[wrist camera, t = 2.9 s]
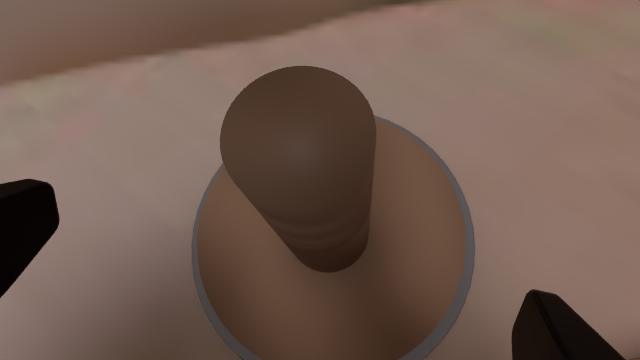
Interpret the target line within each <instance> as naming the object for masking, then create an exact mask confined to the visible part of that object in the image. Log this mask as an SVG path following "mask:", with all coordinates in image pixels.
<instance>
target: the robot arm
mask: <svg viewBox="0 0 640 360" xmlns="http://www.w3.org/2000/svg"><path fill="white" fill-rule="evenodd" d="M58 225H59V213H58V208H57V203H56V198H55V193H54V189H53V187H52V186H51V185H50V184H49V183H47V182H43V181H39V180H34V179H24V180H19V181H14V182H8V183H3V184H0V298H1V297H2V296H3V295H4V293H5V292H6V291H7V290H8V289H9V288H10V287H11V285H12V284H13V283H14V282H15V281H16V279H17V278H18V277H19V276H20V275H21V273H22V272H23V271H24V270H25V268H26V267H27V266H28V265H29V263H30V262H31V261H32V260H33V258H34V257H35V256H36V255H37V254H38V252H39V251H40V250H41V249H42V247H43V246H44V245H45V244H46V242H47V241H48V240H49V239H50V238H51V236H52V235H53V234H54V233H55V231H56V230H57V228H58ZM512 359H513V360H625V359H624V358H623V357H622V356H621V355H620V354H619V353H618V352H617V351H616V350H615V349H614V348H613V347H612V346H611V345H610V344H609V343H608V342H606V341H605V340H604V339H603V338H602V337H601V336H600V335H599V334H598V333H597V332H596V331H595V330H594V329H593V328H592V327H591V326H590V325H589V324H588V323H587V322H585V321H584V320H583V319H582V318H581V317H580V316H579V315H578V314H577V313H576V312H575V311H574V310H573V309H572V308H571V307H570V306H569V305H568V304H567V303H566V302H564V301H563V300H562V299H561V298H560V297H559V296H558V295H556V294H553V293H549V292H544V291H539V290H535V289H533V290H530V291H529V292H528V293H527V294H526V296H525V299H524V301H523V304H522V306H521V308H520V311H519V313H518V316H517V318H516V321H515V323H514V326H513V330H512Z"/></svg>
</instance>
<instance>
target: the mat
mask: <svg viewBox="0 0 640 360" xmlns="http://www.w3.org/2000/svg"><path fill="white" fill-rule="evenodd" d="M374 118H375V119H378V120H381V121H383V122H386V123H388V124H390V125H392V126H394V127H396V128H398V129H400V130H402V131H403V132H405V133H406V134H408V135H409V136H411V137H412V138H414V139H415V140H416V141H417V142H418V143H420V144H421V145H422V146H423V147H424V148H425V149H426V150H427V151H428V152H429V153H430V154H431V155H432V156H433V157H434V158H435V159H436V161H437V162H438V163H439V165H440V166H441V167H442V169H443V170H444V172H445V173H446V175H447V176H448V178H449V180H450V182H451V184H452V186H453V188H454V190H455V192H456V195H457V198H458V200H459V203H460V206H461V210H462V215H463V219H464V224H465V236H466V250H465V262H464V267H463V272H462V277H461V280H460V283H459V286H458V289H457V292H456V295H455V297H454V299H453V301H452V303H451V305H450V307H449V309H448V311H447V312H446V314H445V315H444V317H443V318H442V320H441V321H440V322H439V324H438V325H437V327H436V328H435V329H434V330H433V331H432V332H431V333H430V334H429V335H428V337H427V338H426V339H425V340H424V341H423V342H422V343H420V344H419V345H418V346H417V347H415V348H414V349H413V350H412V351H410V352H409V353H408V354H406V355H405V356H403V357H401V358H399V359H398V360H422V359H423V358H424V357H425V356H426V355H428V354H429V353H430V352H431V351H432V350H433V349H434V348H435V347H436V346H437V345H438V343H439V342H440V341H441V340H442V339H443V338H444V337H445V335H446V334H447V332H448V331H449V329H450V328H451V327H452V325H453V324H454V322H455V321H456V319H457V317H458V315H459V313H460V311H461V309H462V307H463V305H464V302H465V299H466V296H467V293H468V290H469V288H470V284H471V279H472V274H473V268H474V256H475V242H474V230H473V224H472V220H471V215H470V211H469V208H468V205H467V202H466V200H465V197H464V194H463V192H462V190H461V188H460V186H459V184H458V182H457V181H456V179H455V177H454V175H453V174H452V172H451V171H450V170H449V168H448V167H447V165H446V164H445V163H444V161H443V160H442V159H441V158H440V157H439V156H438V155H437V154H436V153H435V151H434V150H433V149H432V148H430V147H429V146H428V145H427V144H426V143H425V142H423V141H422V140H421V139H420V138H419V137H417V136H415V135H414V134H412V133H411V132H409V131H408V130H406V129H405V128H403V127H401V126H399V125H397V124H395V123H393V122H391V121H388V120H386V119H383V118H380V117H377V116H374ZM223 167H224V163H223V164H222V165H221V167H220V168H219V169H218V171H217V172H216V174H215V175H214V177H213V178H212V180H211V182H210V184H209V185H208V187H207V189H206V191H205V193H204V195H203V198H202V201H201V203H200V206H199V208H198V212H197V216H196V220H195V224H194V230H193V238H192V266H193V273H194V280H195V284H196V287H197V291H198V294H199V298H200V300H201V303H202V305H203V307H204V310H205V312H206V314H207V316H208V318H209V320H210V321H211V323H212V324H213V326H214V328H215V329H216V331H217V333H218V334H219V335H220V336H221V337H222V339H223V340H224V341H225V342H226V344H227V345H228V346H229V347H230V348H231V349H232V350H233V351H234V352H235V353H236V354H237V355H238V356H240V357H241V358H242V359H243V360H262V359H261V358H259V357H258V356H256V355H255V354H253V353H252V352H251V351H249V350H248V349H246V348H245V347H244V346H243V345H242V344H241V343H240V342H239V341H238V340H236V339H235V338H234V337H233V336H232V335H231V333H230V332H229V331H228V330H227V328H226V327H225V326H224V325H223V324H222V322H221V321H220V319H219V318H218V316H217V314H216V313H215V311H214V309H213V308H212V306H211V304H210V301H209V299H208V297H207V294H206V292H205V290H204V286H203V283H202V279H201V276H200V271H199V264H198V257H197V237H198V228H199V221H200V217H201V213H202V209H203V205H204V203H205V200H206V198H207V195H208V192H209V190H210V188H211V186H212V184H213V183H214V181H215V179H216V177H217V175H218V174H219V173H220V171H221V170H222V168H223Z"/></svg>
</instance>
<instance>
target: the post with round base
mask: <svg viewBox="0 0 640 360" xmlns="http://www.w3.org/2000/svg"><path fill="white" fill-rule="evenodd" d="M220 150H221V156H222V160H223V163H224V167H223V168H222V170H221V171H220V173H219V174H218V175H217V177H216V179H215V181H214V183H213V184H212V186H211V188H210V190H209V192H208V195H207V198H206V200H205V203H204V205H203V209H202V213H201V217H200V221H199V228H198V237H197V257H198V264H199V271H200V276H201V279H202V283H203V286H204V290H205V292H206V294H207V297H208V299H209V301H210V304H211V306H212V308H213V309H214V311H215V313H216V314H217V316H218V318H219V319H220V321H221V322H222V324H223V325H224V326H225V327H226V328H227V330H228V331H229V332H230V333H231V335H232V336H233V337H234V338H235V339H236V340H238V341H239V342H240V343H241V344H242V345H243V346H244V347H245V348H246V349H248V350H249V351H251V352H252V353H253V354H255V355H256V356H258V357H259V358H261V359H262V360H398V359H399V358H401V357H403V356H405V355H406V354H408V353H409V352H410V351H412V350H413V349H414V348H415V347H417V346H418V345H419V344H420V343H422V342H423V341H424V340H425V339H426V338H427V337H428V335H429V334H430V333H431V332H432V331H433V330H434V329H435V328H436V327H437V325H438V324H439V322H440V321H441V320H442V318H443V317H444V315H445V314H446V312H447V311H448V309H449V307H450V305H451V303H452V301H453V299H454V297H455V295H456V292H457V289H458V286H459V283H460V280H461V277H462V272H463V267H464V262H465V250H466V236H465V224H464V219H463V215H462V210H461V206H460V203H459V200H458V198H457V195H456V192H455V190H454V188H453V186H452V184H451V182H450V180H449V178H448V176H447V175H446V173H445V172H444V170H443V169H442V167H441V166H440V165H439V163H438V162H437V161H436V159H435V158H434V157H433V156H432V155H431V154H430V153H429V152H428V151H427V150H426V149H425V148H424V147H423V146H422V145H421V144H420V143H418V142H417V141H416V140H415V139H414V138H412V137H411V136H409V135H408V134H406V133H405V132H403V131H402V130H400V129H398V128H396V127H394V126H392V125H390V124H388V123H386V122H383V121H381V120H378V119H375V118H374V115H373V112H372V109H371V107H370V105H369V103H368V101H367V100H366V98H365V97H364V95H363V94H362V93H361V91H360V90H359V89H358V88H357V87H356V86H355V85H354V84H352V83H351V82H350V81H349V80H347V79H346V78H344V77H343V76H341V75H339V74H337V73H335V72H332V71H329V70H326V69H323V68H318V67H312V66H293V67H286V68H282V69H278V70H275V71H272V72H270V73H267V74H265V75H263V76H261V77H259V78H258V79H256V80H255V81H253V82H252V83H250V84H249V85H248V86H247V87H246V88H244V89H243V90H242V91H241V93H240V94H239V95H238V96H237V97H236V98H235V100H234V101H233V102H232V104H231V105H230V107H229V109H228V111H227V113H226V115H225V118H224V121H223V124H222V128H221V135H220Z"/></svg>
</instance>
